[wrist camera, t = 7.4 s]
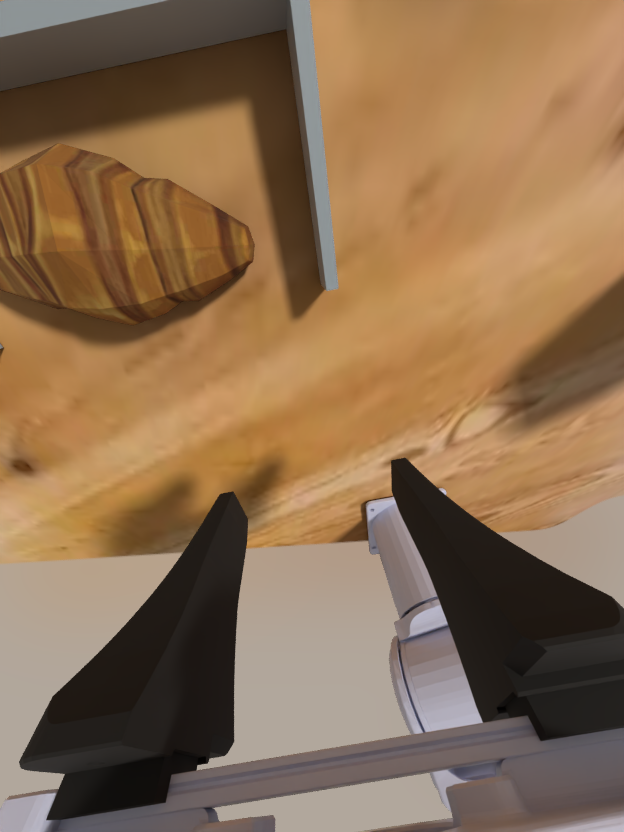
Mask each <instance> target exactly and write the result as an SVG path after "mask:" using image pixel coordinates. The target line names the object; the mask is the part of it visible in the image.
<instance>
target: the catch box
mask: <svg viewBox="0 0 624 832" xmlns="http://www.w3.org/2000/svg"><path fill="white" fill-rule="evenodd" d="M284 29H286V31H287V38H288V45H289V53H290V60H291V68H292V75H293V83H294V90H295V97H296V105H297V112H298V120H299V127H300V135H301V142H302V149H303V157H304V164H305V172H306V179H307V187H308V194H309V202H310V209H311V216H312V224H313V231H314V239H315V246H316V254H317V261H318V268H319V276H320V283H321V285H322V286H323V287H324V289H325V290H326V291H328V290H333V289H338V279H337V269H336V259H335V250H334V240H333V230H332V220H331V210H330V200H329V190H328V180H327V170H326V160H325V150H324V140H323V131H322V121H321V111H320V101H319V91H318V81H317V71H316V61H315V51H314V41H313V31H312V21H311V12H310V2H309V0H4V1H0V91H3V90H8V89H13V88H17V87H22V86H26V85H31V84H36V83H40V82H45V81H49V80H54V79H59V78H63V77H68V76H73V75H77V74H82V73H86V72H91V71H96V70H100V69H105V68H109V67H114V66H119V65H123V64H128V63H132V62H137V61H142V60H146V59H151V58H155V57H160V56H165V55H169V54H174V53H178V52H183V51H188V50H192V49H197V48H201V47H206V46H211V45H215V44H220V43H225V42H229V41H234V40H238V39H243V38H248V37H252V36H257V35H261V34H266V33H271V32H275V31H280V30H284ZM1 348H3V346H2V345H1V344H0V349H1Z"/></svg>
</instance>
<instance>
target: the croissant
mask: <svg viewBox="0 0 624 832" xmlns="http://www.w3.org/2000/svg"><path fill="white" fill-rule="evenodd" d="M254 245H255V244H254V242H253V239H252V236H251V233H250V231H249V228H248V226H246V225H245V224H243V223H241V222H240V221H238V220H236V219H235V218H233V217H232V216H230V215H228V214H227V213H225V212H223V211H222V210H220V209H218V208H217V207H215V206H213V205H212V204H210V203H208V202H206V201H205V200H203V199H201V198H199V197H198V196H196V195H194V194H192V193H191V192H189V191H187V190H186V189H184V188H182V187H180V186H179V185H177V184H175V183H173V182H172V181H170V180H168V179H154V178H143V177H142V176H140V175H139V174H137V173H136V172H134V171H133V170H131V169H129V168H128V167H126V166H125V165H123V164H122V163H120V162H119V161H117V160H115V159H114V158H110V157H107V156H103V155H99V154H96V153H92V152H88V151H85V150H81V149H77V148H74V147H70V146H66V145H63V144H59V143H58V144H56V145H54V146H52V147H50V148H48V149H46V150H44V151H42V152H40V153H38V154H36V155H34V156H32V157H30V158H28V159H25V160H23V161H21V162H20V163H18V164H16V165H14V166H12V167H11V168H9V169H7V170H5V171H3V172H2V173H0V290H3V291H6V292H9V293H12V294H15V295H18V296H21V297H24V298H27V299H30V300H33V301H36V302H39V303H42V304H45V305H48V306H51V307H54V308H57V309H62V308H70V309H72V310H75V311H78V312H81V313H84V314H87V315H90V316H92V317H95V318H100V319H104V320H109V321H114V322H119V323H124V324H128V325H136V324H138V323H141V322H144V321H146V320H149V319H152V318H155V317H157V316H160V315H163V314H165V313H167V312H168V311H170V310H171V309H172V308H174V307H175V306H176V305H178V304H179V303H180V302H182V301H199V300H201V299H202V298H204V297H205V296H207V295H208V294H210V293H211V292H213V291H214V290H216V289H218V288H219V287H221V286H222V285H224V284H225V283H227V282H228V281H230V280H231V279H232V278H234V277H235V276H236V275H237V274H239V273H240V272H241V271H242V270H243V269H245V268H246V267H247V266H248V265H250V264H251V263H252V262H253V257H254Z"/></svg>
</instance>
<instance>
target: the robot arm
mask: <svg viewBox="0 0 624 832" xmlns="http://www.w3.org/2000/svg"><path fill="white" fill-rule="evenodd" d="M391 474H392V493H393V496H394V497H390V498H384V499H379V500H374V501H369V502H367V503H366V515H367V527H368V539H369V551H370V553H371V554H380V557H381V561H382V564H383V567H384V570H385V573H386V577H387V580H388V583H389V587H390V590H391V593H392V596H393V600H394V603H395V606H396V608H397V611H398V615H399V618H400V620H398V621H395V622H394V624H395V628H396V631H397V636H395V637H394V638H393V639H392V643H391V649H390V654H389V663H390V672H391V678H392V683H393V687H394V690H395V695H396V698H397V701H398V704H399V707H400V710H401V713H402V716H403V718H404V720H405V723H406V725H407V727H408V729H409V731H410V733H411V735H407V736H401V737H396V738H389V739H383V740H377V741H372V742H365V743H359V744H353V745H347V746H341V747H336V748H329V749H323V750H318V751H312V752H305V753H299V754H293V755H287V756H281V757H276V758H269V759H263V760H257V761H251V762H246V763H240V764H233V765H227V766H222V767H216V768H210V769H203V770H198V771H196V770H197V765H201V764H207V763H208V762H209V758H215V757H221V756H225V755H226V754H227V753H228V751H229V750H230V748H231V746H232V745H233V743H234V669H235V666H234V665H235V643H236V642H235V641H236V624H237V608H238V599H239V592H240V585H241V579H242V572H243V565H244V559H245V552H246V546H247V531H248V518H247V516H246V515H245V513H244V511H243V509H242V507H241V505H240V503H239V501H238V499H237V497H236V495H235V494H234V492H228V493H223V494H220V495H219V497H218V498H217V500H216V501H215V503H214V505H213V506H212V508H211V510H210V511H209V513H208V515H207V516H206V518H205V520H204V521H203V523H202V525H201V526H200V528H199V529H198V531H197V532H196V534H195V536H194V537H193V539H192V540H191V542H190V543H189V545H188V546H187V548H186V549H185V551H184V552H183V554H182V555H181V557H180V558H179V560H178V561H177V562H176V564H175V565H174V566H173V568H172V569H171V571H170V572H169V573H168V575H167V576H166V577H165V579H164V580H163V581H162V582H161V584H160V585H159V586H158V587H157V589H156V590H155V591H154V592H153V594H152V595H151V596H150V597H149V598H148V600H147V601H146V602H145V603H144V604H143V605H142V606H141V608H140V609H139V610H138V611H137V612H136V613H135V615H134V616H133V617H132V618H131V619H130V620H129V621H128V622H127V623H126V625H125V626H124V627H123V628H122V629H121V630H120V631H119V632H118V633H117V634H116V635H115V636H114V637H113V638H112V640H111V641H109V643H108V644H107V645H106V646H105V647H104V648H103V649H102V650H101V651H100V652H99V653H98V654H97V655H96V656H95V657H94V658H93V659H92V660H91V661H90V662H89V663H88V664H87V665H85V666H84V668H82V669H81V670H80V671H79V672H78V673H77V674H76V675H75V676H74V677H73V678H72V679H71V680H70V681H69V682H68V683H67V684H66V685H64V686H63V687H62V688H61V689H60V691H58V692H57V693H56V694H55V695H54V696H53V697H52V699H51V701H50V703H49V705H48V707H47V708H46V710H45V712H44V715H43V716H42V718H41V720H40V722H39V724H38V726H37V728H36V730H35V732H34V734H33V736H32V738H31V740H30V742H29V744H28V746H27V748H26V749H25V751H24V753H23V755H22V757H21V759H20V761H19V763H20V767H21V768H22V769H24V770H30V771H39V772H51V773H62V774H65V776H64V778H63V780H62V783H61V785H60V787H59V789H54V790H45V791H38V792H32V793H26V794H20V795H15V796H9V797H8V798H7V799H6V800H5V801H4V803H3V805H2V807H1V809H0V832H275V818H274V816H273V815H270V816H262V817H250V818H243V819H236V820H229V821H222V822H220V821H219V820H218V816H217V813H216V811H215V810H214V809H213V808H215V807H221V806H227V805H233V804H239V803H246V802H252V801H258V800H264V799H270V798H276V797H283V796H288V795H295V794H301V793H307V792H313V791H319V790H326V789H331V788H338V787H344V786H350V785H356V784H362V783H369V782H375V781H380V780H387V779H393V778H399V777H405V776H412V775H417V774H424V773H430V775H431V778H432V781H433V783H434V785H435V787H436V788H437V790H438V792H439V795H440V798H441V801H442V803H443V804H444V805H445V807H446V808H447V809H449V810H450V811H451V812H452V816H453V818H449V819H442V820H435V821H428V822H420V823H413V824H407V825H400V826H392V827H386V828H379V829H373V830H367V831H361V832H624V608H623V607H622V606H620V604H619V603H618V602H617V601H615V599H613V598H612V597H611V596H609V595H607V594H605V593H603V592H601V591H599V590H597V589H595V588H593V587H591V586H589V585H587V584H585V583H583V582H581V581H579V580H577V579H575V578H573V577H571V576H569V575H567V574H565V573H563V572H561V571H560V570H558V569H556V568H554V567H552V566H551V565H549V564H547V563H545V562H543V561H542V560H540V559H538V558H536V557H535V556H533V555H531V554H530V553H528V552H526V551H525V550H523V549H521V548H520V547H518V546H516V545H514V544H513V543H511V542H510V541H508V540H507V539H505V538H503V537H502V536H500V535H499V534H497V533H496V532H494V531H493V530H491V529H490V528H488V527H487V526H485V525H484V524H483V523H481V522H480V521H478V520H477V519H476V518H474V517H473V516H471V515H470V514H469V513H467V512H466V511H465V510H464V509H462V508H461V507H460V506H458V505H457V504H456V503H455V502H453V501H452V500H451V499H450V498H449V497H447V496H446V491H445V489H443V488H437V487H436V486H435V485H433V484H432V483H431V482H430V481H429V480H428V479H427V478H426V477H425V476H424V475H423V474H422V473H421V472H419V471H418V470H417V469H416V468H415V467H414V466H413V465H412V464H411V463H410V462H409V461H408V460H407V459H406V458H401V459H396V460H391Z"/></svg>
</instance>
